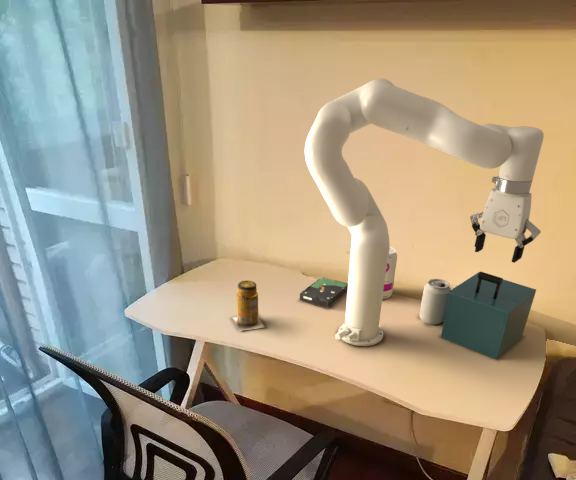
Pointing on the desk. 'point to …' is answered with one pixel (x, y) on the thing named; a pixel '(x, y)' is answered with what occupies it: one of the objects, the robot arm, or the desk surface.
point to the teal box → (484, 326)
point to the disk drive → (324, 292)
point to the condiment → (247, 306)
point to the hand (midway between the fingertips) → (496, 255)
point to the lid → (493, 292)
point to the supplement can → (390, 273)
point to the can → (434, 301)
